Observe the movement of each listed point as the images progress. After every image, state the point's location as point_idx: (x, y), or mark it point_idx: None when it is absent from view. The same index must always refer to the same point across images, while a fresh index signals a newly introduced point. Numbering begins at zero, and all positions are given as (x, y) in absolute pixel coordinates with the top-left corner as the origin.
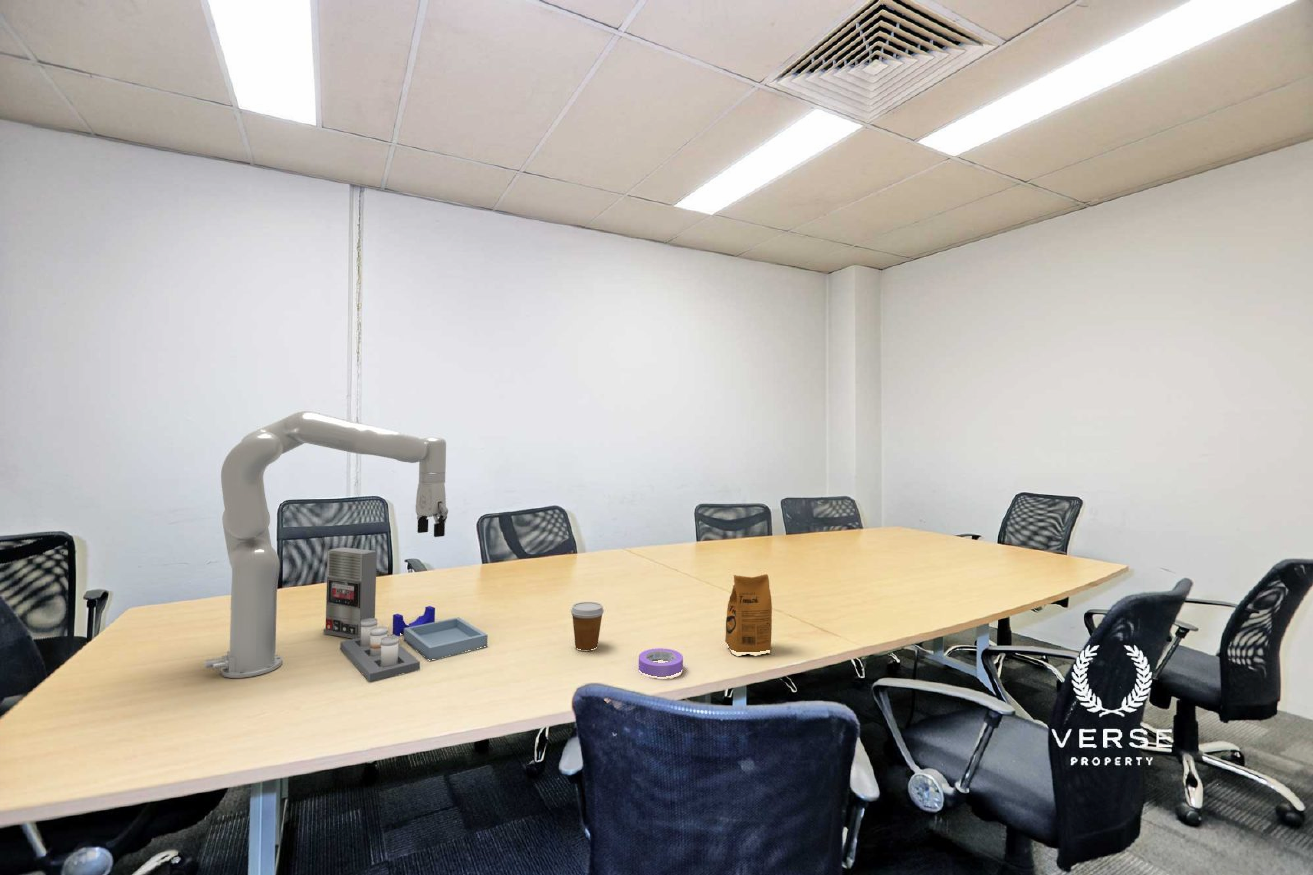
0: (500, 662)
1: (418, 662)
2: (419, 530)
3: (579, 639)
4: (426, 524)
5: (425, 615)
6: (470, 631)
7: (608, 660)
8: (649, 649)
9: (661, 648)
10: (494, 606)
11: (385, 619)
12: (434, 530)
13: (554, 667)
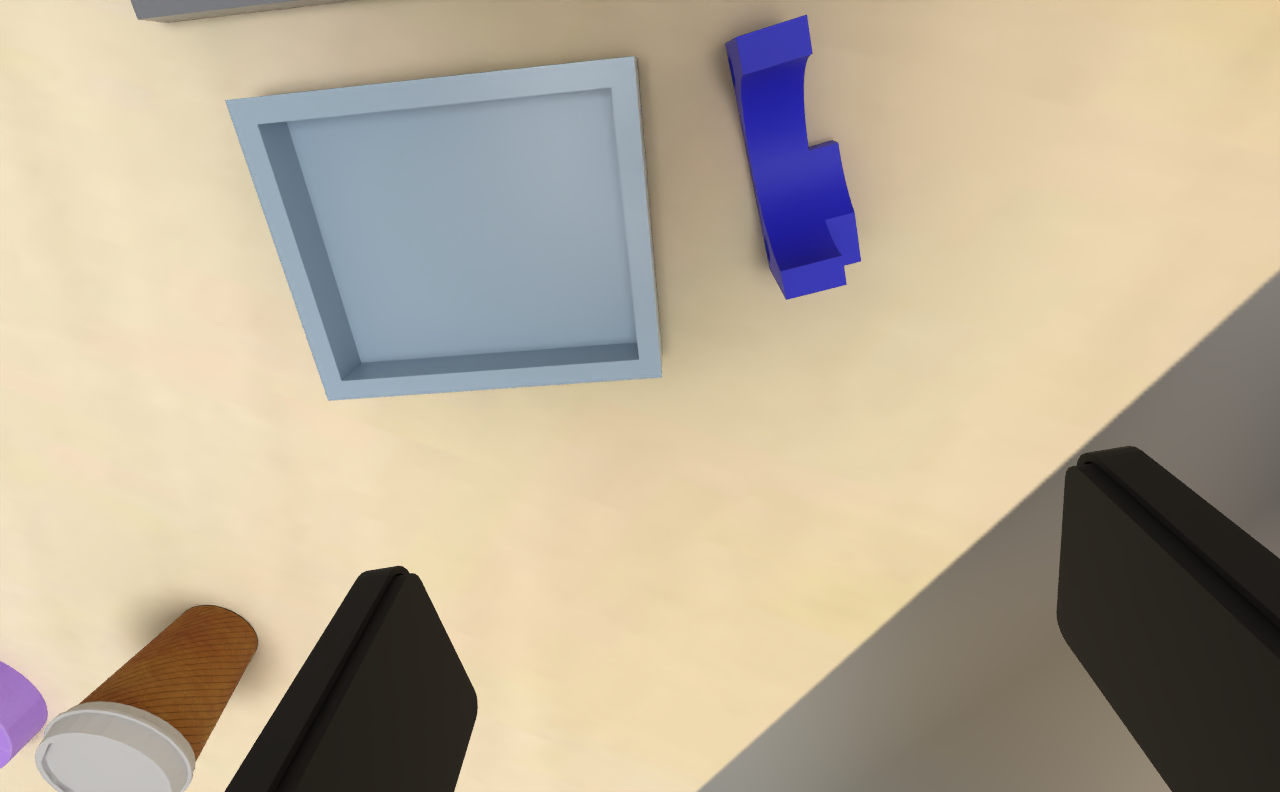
0: (161, 358)
1: (136, 11)
2: (1096, 499)
3: (159, 637)
4: (1170, 751)
5: (806, 239)
6: (469, 364)
7: (86, 632)
8: (6, 736)
9: (7, 760)
10: (877, 580)
11: (1094, 50)
12: (311, 671)
13: (62, 489)
